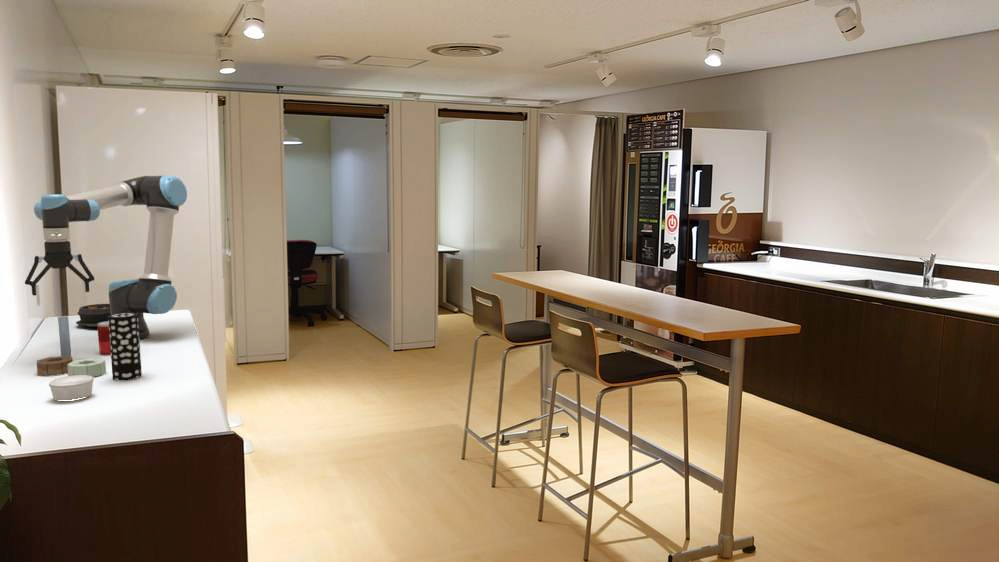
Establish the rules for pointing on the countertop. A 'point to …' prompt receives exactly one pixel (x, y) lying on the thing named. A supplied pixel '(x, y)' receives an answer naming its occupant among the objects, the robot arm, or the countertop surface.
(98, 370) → the sage bead
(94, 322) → the casserole
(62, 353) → the dowel
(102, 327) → the canned food
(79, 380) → the ramekin
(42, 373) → the walnut bead
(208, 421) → the countertop surface
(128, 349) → the spotted tube
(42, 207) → the robot arm
